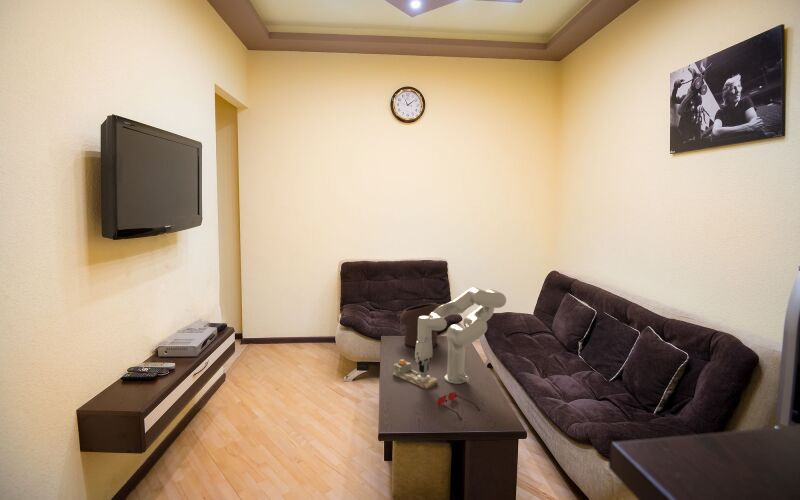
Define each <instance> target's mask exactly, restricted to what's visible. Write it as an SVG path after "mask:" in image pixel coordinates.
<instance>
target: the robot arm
mask: <svg viewBox="0 0 800 500" xmlns="http://www.w3.org/2000/svg"><path fill="white" fill-rule="evenodd" d="M506 303H507V297H506V295H505V294H504V293H502V292H499V291H498V290H494V289H491V288H490V289H489V288H488V289H486V290H484V289H481V288H478V287H475V286H472V287H470V288H469V289H468V290H466V291H465V292H463V293H462V294H460V295H459V296H458V297H456V298H455V299H453V300H452V301H449V302H447V303H444V304H442V305H440V306H437V307H438V308H437V309H435V310H434V311H433V312H431V313H430V314H429V316H420V317H419V318H418V341H417V343H416V348H415V347H414V348H415V350H414V359H415V363H418V371H419V373H420V372H424V360H425V359H426V360H428V365H427V372H428V371H429V370H430V369H429V367H430V366H429V365H430V362H431V359H432V358H433V357H434V356H433V346H432V340H431V337H432V336H431V330H435V331H444V330H445V329H446V328H447V325H448V324H447V323H448V322H447V320H446V319H445V318H447V317H448V316H452V315H460V314H464V313H465V312H466V311H467V310H468V309H470V308H471V307H473V306H474V305H477V306H479V307H478V308H477V309H475V310H474V311H472V312H471V313H469V314H467V316H466V317H465V318H463V323H462V324H463V326H462V325H460V324H458V323H455V324H451V325H450V326H449V327H448V328H447V331H446V339H447V366H446V367H447V368H446V369H447V371H446V372H447V373H446V374H445V375H444V377H443V378H444V381H446V382H447V383H450V384H455V385H458V384H464V383H468V382H469V381H470V380H469V379H470V377H469V376H467V372H465V359H466V358H465V357H466V356H465V353H466V350H465V349H466V347H469V346H470V345H471V344H473V343H474V342H476V341H478V339H479V338H482V336H483V335H485V333H486V332H487V330H488V323H487V321H489V320H490V319H491V318H492V316H493V315H494V311H495V308H496V309H501V308H503V307H504V306H505V305H506ZM421 361H422V362H421Z"/></svg>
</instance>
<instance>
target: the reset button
mask: <svg viewBox="0 0 800 500" xmlns="http://www.w3.org/2000/svg"><path fill="white" fill-rule="evenodd" d="M398 363H399V365H401V366H404V365H405V364H406V359H399V362H398Z"/></svg>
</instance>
